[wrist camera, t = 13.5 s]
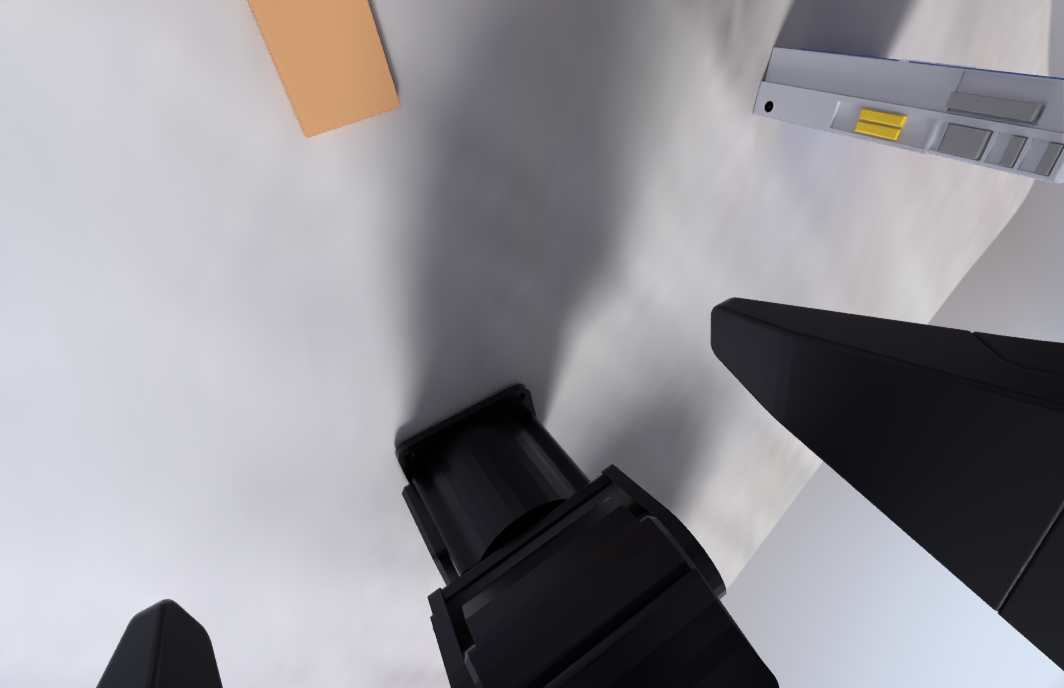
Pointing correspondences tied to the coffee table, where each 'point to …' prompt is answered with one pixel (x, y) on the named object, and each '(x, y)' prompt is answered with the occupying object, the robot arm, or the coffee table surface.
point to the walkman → (923, 108)
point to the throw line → (327, 60)
